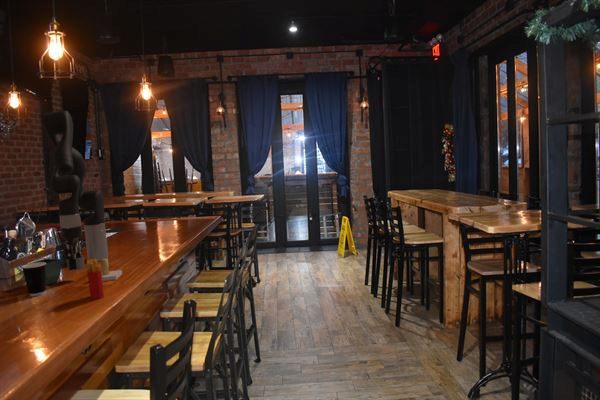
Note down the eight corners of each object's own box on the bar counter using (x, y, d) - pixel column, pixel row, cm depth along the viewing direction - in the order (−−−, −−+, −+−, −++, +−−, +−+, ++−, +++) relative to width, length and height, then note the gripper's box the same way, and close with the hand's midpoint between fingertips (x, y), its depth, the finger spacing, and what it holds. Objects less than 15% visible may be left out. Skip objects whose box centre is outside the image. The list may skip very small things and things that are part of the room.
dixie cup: (51, 290, 182) (47, 261, 181) (48, 295, 175) (44, 265, 174) (27, 293, 180) (23, 264, 178) (23, 299, 172) (19, 268, 171)
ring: (71, 267, 199) (69, 256, 198) (86, 265, 199) (85, 255, 199) (66, 271, 193) (64, 259, 192) (82, 269, 193) (80, 258, 193)
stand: (96, 276, 200) (94, 258, 199) (122, 273, 201) (120, 255, 200) (89, 282, 190) (87, 263, 189) (116, 279, 191) (114, 260, 190)
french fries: (103, 299, 165) (99, 261, 163) (89, 301, 163) (85, 262, 162) (104, 292, 173) (100, 256, 172) (91, 294, 172) (87, 257, 171)
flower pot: (64, 280, 196) (62, 258, 195) (47, 286, 188) (44, 263, 187) (47, 280, 199) (45, 258, 198) (29, 286, 191) (26, 263, 190)
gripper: (66, 223, 201) (72, 263, 202) (54, 229, 186) (60, 272, 188) (86, 221, 202) (91, 261, 204) (75, 227, 187) (80, 270, 189)
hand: (76, 266), depth 196 cm, fingers closed on ring, 6 cm apart
